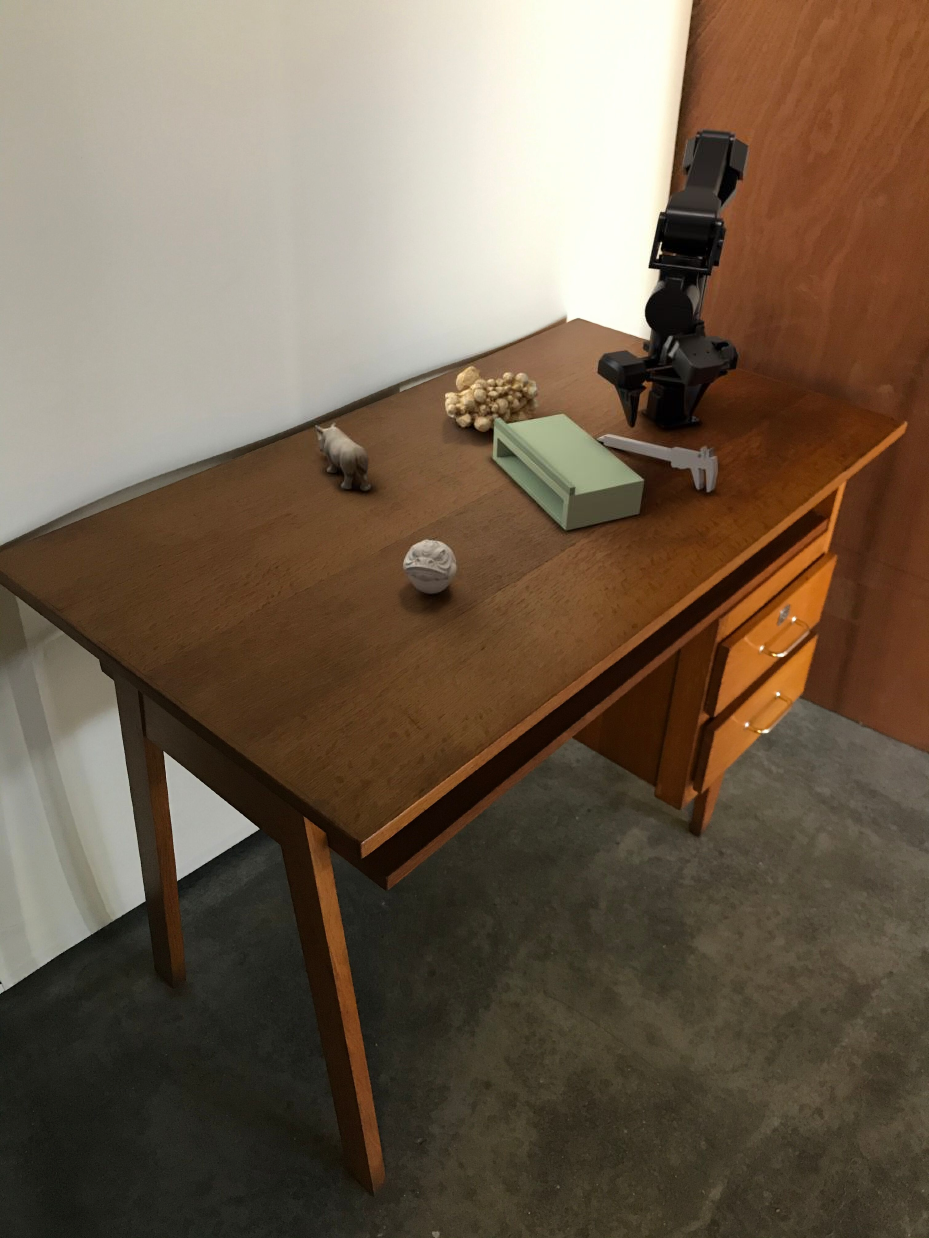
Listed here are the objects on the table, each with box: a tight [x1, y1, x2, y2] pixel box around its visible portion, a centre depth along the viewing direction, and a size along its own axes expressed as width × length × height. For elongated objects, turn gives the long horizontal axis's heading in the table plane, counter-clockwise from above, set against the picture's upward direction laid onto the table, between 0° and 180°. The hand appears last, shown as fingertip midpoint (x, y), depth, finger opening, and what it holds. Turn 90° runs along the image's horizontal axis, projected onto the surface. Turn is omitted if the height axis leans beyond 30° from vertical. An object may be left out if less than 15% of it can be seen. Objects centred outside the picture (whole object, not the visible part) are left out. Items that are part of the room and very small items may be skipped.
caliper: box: [596, 433, 719, 493], centre depth 139 cm, size 20×1×6 cm, turn 42°
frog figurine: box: [402, 539, 458, 595], centre depth 113 cm, size 6×7×7 cm
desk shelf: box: [492, 413, 645, 531], centre depth 134 cm, size 11×21×6 cm, turn 25°
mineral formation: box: [444, 365, 540, 433], centre depth 148 cm, size 8×13×15 cm
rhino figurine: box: [315, 422, 371, 492], centre depth 136 cm, size 4×14×6 cm, turn 30°
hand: (659, 421), depth 137 cm, fingers open, 9 cm apart
